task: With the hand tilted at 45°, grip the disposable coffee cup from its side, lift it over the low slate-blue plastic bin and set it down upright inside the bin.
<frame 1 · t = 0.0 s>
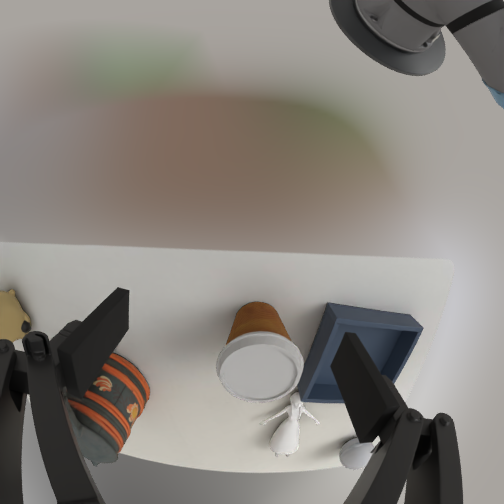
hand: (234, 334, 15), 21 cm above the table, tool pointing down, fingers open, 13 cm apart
woman figurine: (288, 419, 45), on the table
lidded tankard: (111, 369, 41), on the table
disposable coffee cup: (257, 320, 38), on the table
bin: (355, 351, 40), on the table
toy pig: (17, 306, 38), on the table
bath bomb: (352, 440, 48), on the table
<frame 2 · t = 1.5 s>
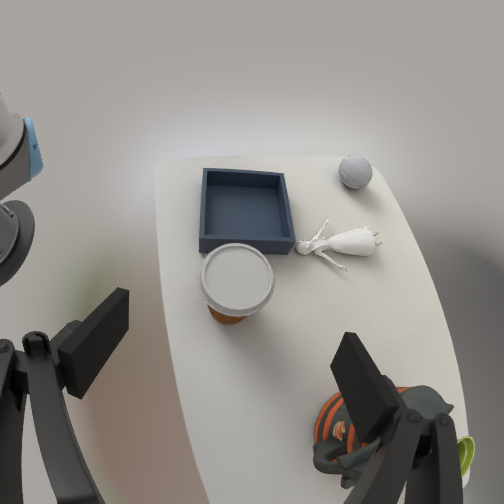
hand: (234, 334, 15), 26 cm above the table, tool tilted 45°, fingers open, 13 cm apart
woman figurine: (335, 248, 52), on the table
lidded tankard: (341, 432, 35), on the table
disposable coffee cup: (228, 305, 43), on the table
bin: (242, 216, 51), on the table
plant pot: (430, 457, 33), on the table
bath bomb: (348, 183, 62), on the table
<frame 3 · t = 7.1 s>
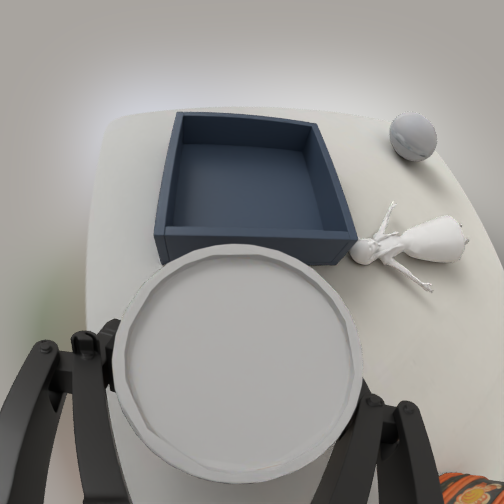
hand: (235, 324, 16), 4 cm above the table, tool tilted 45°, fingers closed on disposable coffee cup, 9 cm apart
woman figurine: (407, 251, 28), on the table
disposable coffee cup: (222, 377, 19), on the table, touching gripper
bin: (247, 194, 27), on the table
bath bomb: (401, 154, 38), on the table
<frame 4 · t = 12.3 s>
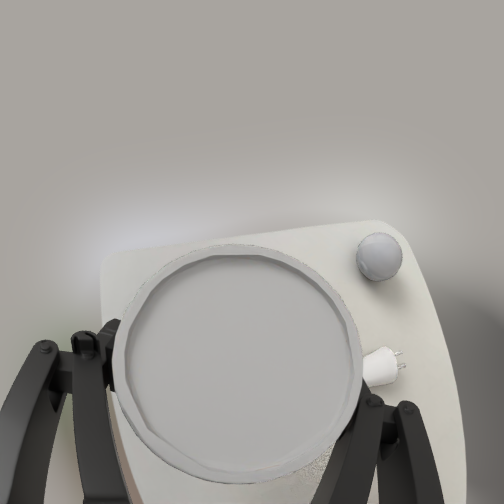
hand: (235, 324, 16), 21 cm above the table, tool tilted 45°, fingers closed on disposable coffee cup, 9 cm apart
woman figurine: (346, 378, 35), on the table
disposable coffee cup: (222, 377, 19), point 16 cm above the table, touching gripper
bath bomb: (367, 267, 45), on the table
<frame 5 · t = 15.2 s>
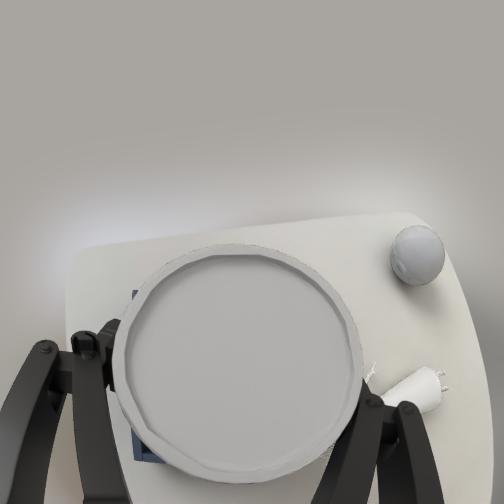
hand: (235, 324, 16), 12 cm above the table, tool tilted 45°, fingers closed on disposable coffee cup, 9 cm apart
woman figurine: (379, 408, 25), on the table
disposable coffee cup: (222, 377, 19), point 7 cm above the table, touching gripper
bin: (218, 379, 25), on the table
bath bomb: (400, 269, 35), on the table
when the fingers open (5 cm above the table, at t = 17.5 s): disposable coffee cup stays where it is, resting on bin.
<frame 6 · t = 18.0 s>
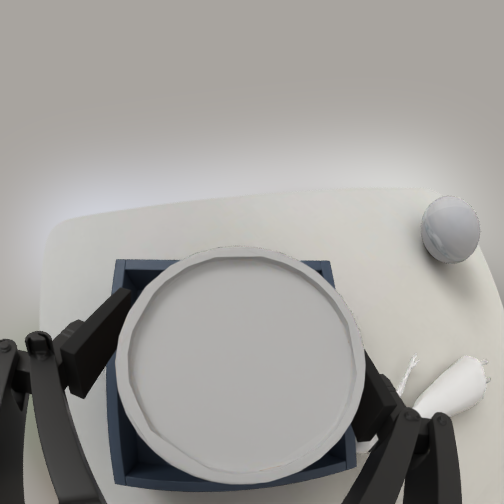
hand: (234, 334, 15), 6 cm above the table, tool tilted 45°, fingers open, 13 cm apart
woman figurine: (418, 407, 19), on the table
disposable coffee cup: (225, 378, 19), resting on bin
bin: (225, 379, 19), on the table
bath bomb: (430, 247, 29), on the table
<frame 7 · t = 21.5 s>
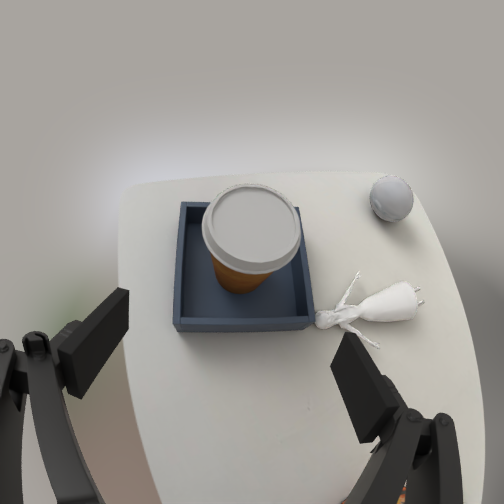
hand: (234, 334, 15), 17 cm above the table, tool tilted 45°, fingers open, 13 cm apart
woman figurine: (366, 312, 36), on the table
disposable coffee cup: (239, 271, 35), resting on bin
bin: (239, 273, 36), on the table
bath bomb: (380, 212, 46), on the table
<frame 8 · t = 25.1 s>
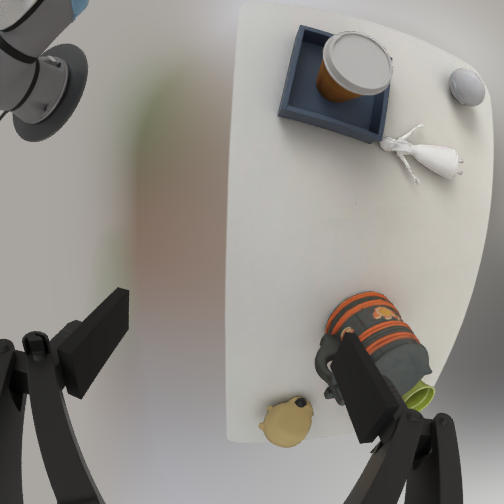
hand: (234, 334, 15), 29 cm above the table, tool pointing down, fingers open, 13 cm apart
woman figurine: (418, 154, 40), on the table
lidded tankard: (349, 326, 48), on the table
disposable coffee cup: (334, 85, 36), resting on bin
bin: (333, 86, 37), on the table
plant pot: (402, 379, 53), on the table
toy pig: (285, 407, 54), on the table
bath bomb: (454, 90, 36), on the table
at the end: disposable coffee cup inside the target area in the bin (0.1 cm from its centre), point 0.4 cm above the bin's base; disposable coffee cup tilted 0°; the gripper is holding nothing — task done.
